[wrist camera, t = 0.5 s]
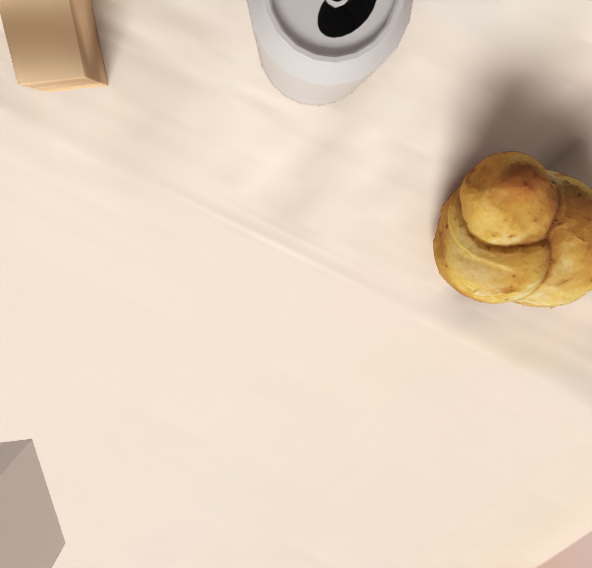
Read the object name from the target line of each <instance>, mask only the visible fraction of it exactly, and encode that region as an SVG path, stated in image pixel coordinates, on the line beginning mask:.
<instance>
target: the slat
mask: <svg viewBox="0 0 592 568" xmlns="http://www.w3.org/2000/svg"><path fill="white" fill-rule="evenodd" d="M0 14H1V18H2V22H3V26H4V30H5V34H6V38H7V42H8V46H9V50H10V54H11V59H12V63H13V67H14V71H15V75H16V79H17V83H18V84H19V85H23V86H27V87H31V88H35V89H38V90H42V91H46V92H54V91H63V90H73V89H82V88H91V87H100V86H108V83H107V78H106V73H105V68H104V63H103V58H102V53H101V48H100V43H99V38H98V33H97V28H96V23H95V17H94V12H93V7H92V2H91V0H0Z"/></svg>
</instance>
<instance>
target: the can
mask: <svg viewBox="0 0 592 568" xmlns="http://www.w3.org/2000/svg"><path fill="white" fill-rule="evenodd" d="M412 2H413V0H247V3H248V8H249V13H250V18H251V23H252V27H253V32H254V36H255V40H256V44H257V48H258V52H259V56H260V61H261V65H262V67H263V69H264V71H265V73H266V75H267V77H268V79H269V80H270V82H271V84H272V85H273V86H274V87H275V88H276V89H277V90H278V91H280V92H281V93H282V94H283V95H284V96H285V97H287V98H289V99H291V100H293V101H295V102H297V103H299V104H303V105H312V106H322V105H326V104H331V103H336V102H337V101H339V100H341V99H342V98H344V97H346V96H347V95H349V94H351V93H352V92H353V91H354V90H355V89H356V88H357V87H358V86H359V85H361V84H362V83H363V82H364V81H365V80H366V79H367V78H368V77H369V76H370V75H371V74H373V73H374V72H375V71H376V70H377V69H378V68H379V67H380V66H381V65H382V64H383V63H384V61H385V60H386V59H387V58H388V57H389V56H390V55H391V54H392V52H393V51H394V50H395V49H396V48H397V47H398V45H399V42H400V40H401V38H402V36H403V34H404V32H405V29H406V27H407V25H408V23H409V21H410V14H411V8H412Z"/></svg>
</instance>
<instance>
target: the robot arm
mask: <svg viewBox="0 0 592 568" xmlns="http://www.w3.org/2000/svg"><path fill="white" fill-rule="evenodd" d="M64 544H65V541H64V537H63V534H62V531H61V528H60V525H59V522H58V519H57V516H56V513H55V509H54V506H53V503H52V500H51V497H50V494H49V491H48V488H47V485H46V481H45V478H44V475H43V472H42V469H41V466H40V463H39V460H38V457H37V453H36V450H35V447H34V444H33V441H32V439H28V440H19V441H11V442H3V443H0V568H52V566H53V564H54V563H55V561H56V559H57V557H58V555H59V554H60V552H61V550H62V548H63V546H64Z"/></svg>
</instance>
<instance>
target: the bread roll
mask: <svg viewBox="0 0 592 568" xmlns="http://www.w3.org/2000/svg"><path fill="white" fill-rule="evenodd" d="M433 249H434V256H435V261H436V265H437V267H438V270H439V273H440V275H441V276H442V277H443V278H444V279H445V280H446V281H447V282H448V283H449V284H450V285H451V286H452V287H453V288H454V289H455V290H457V291H458V292H459V293H461V294H462V295H464V296H466V297H469V298H472V299H474V300H476V301H479V302H485V303H490V304H498V303H506V302H515V303H519V304H522V305H527V306H532V307H550V309H552V308H553V307H555V306H559V305H565V304H569V303H571V302H574V301H576V300H577V299H579V298H581V297H582V296H584V295H585V294H586V293H587V292H589V291H590V290H592V189H591V188H589V187H588V186H587V185H585V184H584V183H583V182H581V181H580V180H578V179H576V178H573V177H571V176H566V175H563V174H561V173H559V172H556V171H551V170H546V169H545V168H544V166H543V165H541V164H540V163H539V162H538V161H537V160H536V159H535V158H533V157H531V156H529V155H526V154H523V153H520V152H502V153H495V154H493V155H490V156H488V157H487V158H485V159H484V160H482V161H481V162H480V163H478V164H476V165H475V166H474V167H473V168H472V169H471V170H470V171H469V172H468V173H467V174H466V176H465V177H464V180H463V182H462V185H461V186H460V187H459V188H458V189H457V190H456V191H455V192H454V193H453V194H452V195H451V197H450V198H449V200H448V201H447V202H446V203H445V204H443V206H442V209H441V216H440V219H439V224H438V229H437V232H436V234H435V238H434V240H433Z"/></svg>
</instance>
